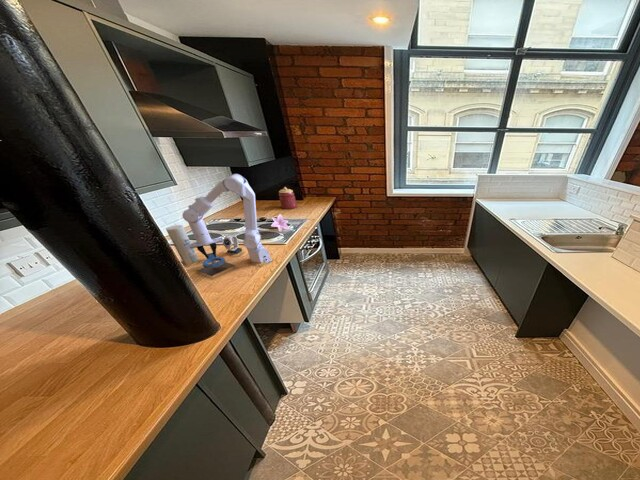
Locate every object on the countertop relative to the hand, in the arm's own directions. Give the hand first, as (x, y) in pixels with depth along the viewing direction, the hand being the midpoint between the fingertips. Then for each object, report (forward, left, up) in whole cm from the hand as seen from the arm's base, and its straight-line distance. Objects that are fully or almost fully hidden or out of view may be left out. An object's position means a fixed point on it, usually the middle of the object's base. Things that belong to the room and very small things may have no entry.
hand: (212, 258), depth 126 cm
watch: (+4, -14, -5) cm, 15 cm away
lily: (+13, -54, -5) cm, 55 cm away
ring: (-4, +2, -1) cm, 4 cm away
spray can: (+14, +3, -5) cm, 15 cm away
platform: (-5, +2, -5) cm, 7 cm away
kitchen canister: (+52, -98, -5) cm, 111 cm away
